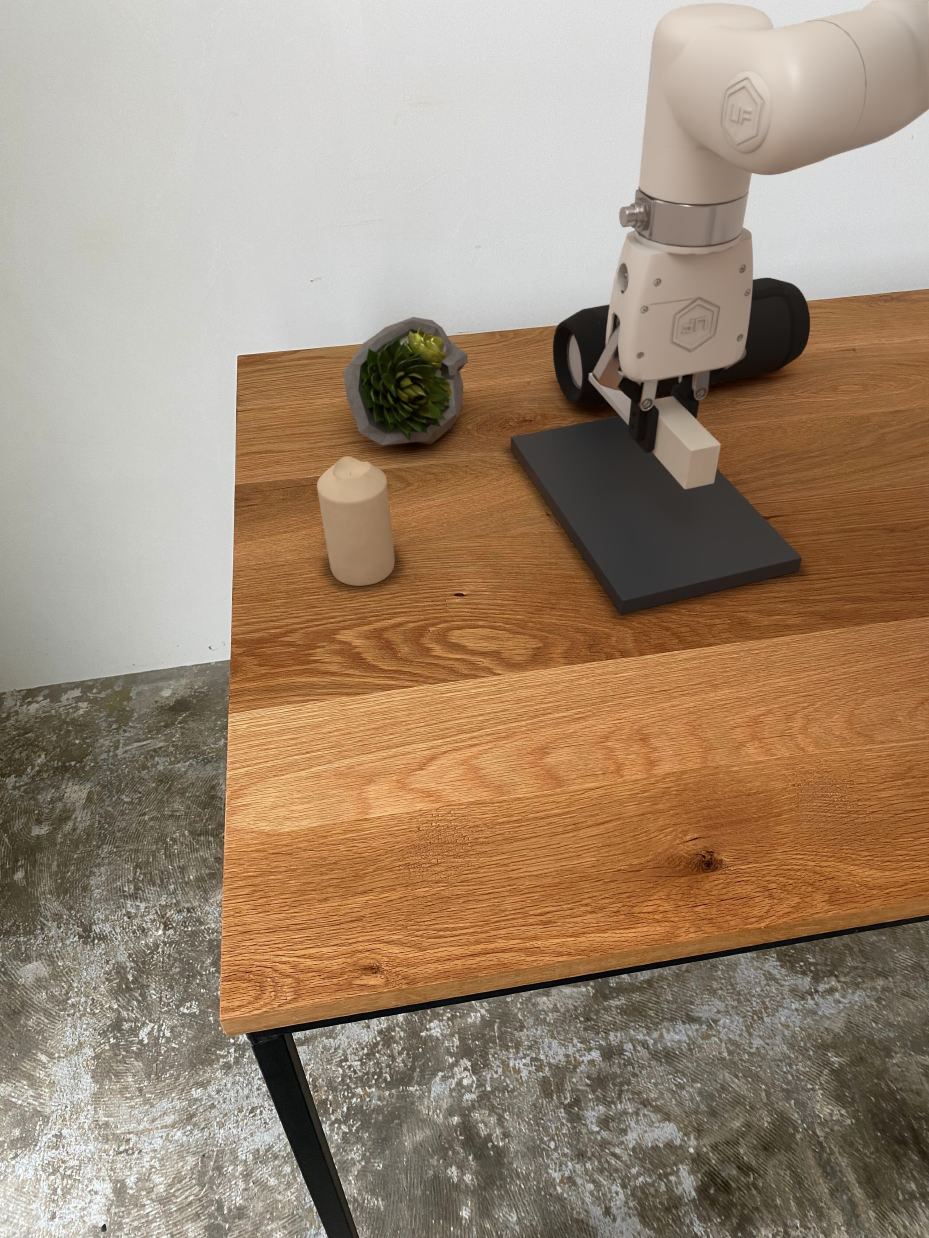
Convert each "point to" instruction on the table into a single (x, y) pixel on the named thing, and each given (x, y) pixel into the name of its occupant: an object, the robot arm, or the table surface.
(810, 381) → the table surface
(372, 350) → the potted plant
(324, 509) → the candle
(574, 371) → the portable speaker
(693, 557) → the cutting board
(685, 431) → the white stepped bar
